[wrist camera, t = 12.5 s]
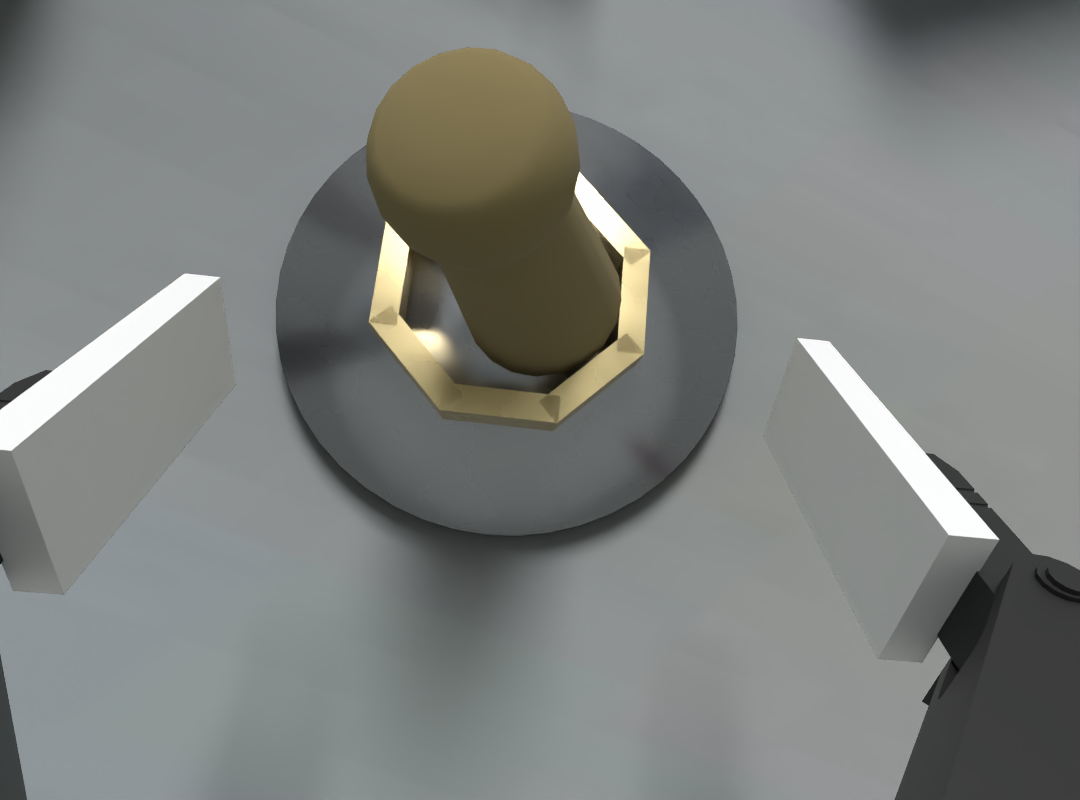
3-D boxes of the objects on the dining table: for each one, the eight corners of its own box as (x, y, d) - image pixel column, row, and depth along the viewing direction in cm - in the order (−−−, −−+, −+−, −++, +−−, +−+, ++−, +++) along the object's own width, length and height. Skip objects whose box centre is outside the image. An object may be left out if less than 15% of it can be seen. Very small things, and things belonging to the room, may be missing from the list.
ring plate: (238, 509, 24) (212, 504, 22) (326, 89, 28) (312, 48, 26) (724, 559, 25) (747, 559, 22) (735, 143, 29) (755, 108, 27)
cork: (434, 315, 26) (273, 153, 15) (532, 198, 26) (442, -40, 15) (551, 409, 24) (462, 299, 13) (655, 283, 24) (647, 79, 14)
